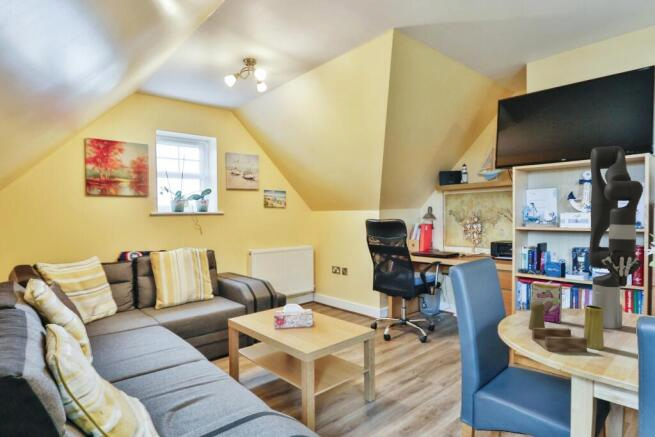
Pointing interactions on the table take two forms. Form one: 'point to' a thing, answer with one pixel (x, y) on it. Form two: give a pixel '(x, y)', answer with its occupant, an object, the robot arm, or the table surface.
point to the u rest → (558, 340)
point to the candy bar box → (548, 299)
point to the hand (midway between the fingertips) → (621, 286)
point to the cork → (536, 315)
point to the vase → (594, 327)
